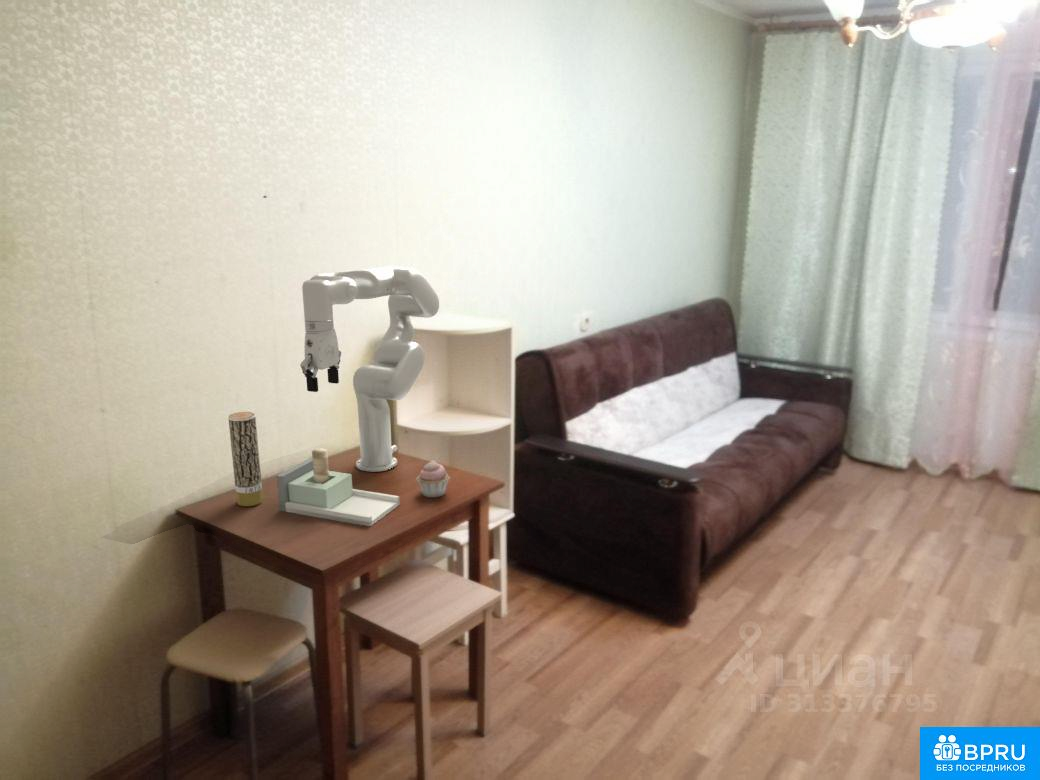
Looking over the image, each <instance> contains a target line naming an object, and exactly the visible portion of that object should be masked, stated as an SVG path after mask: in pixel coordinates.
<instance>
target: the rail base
mask: <svg viewBox="0 0 1040 780" xmlns="http://www.w3.org/2000/svg"><path fill="white" fill-rule="evenodd" d="M311 470H313V459H312V457H309V458H307V459H305V460H303V461H301V462H300V463H297V464H296V465H294V466H292V467H290V468H288V469H286V470H284V471H282V472H281V473H279V474H277V475H276V480H277V481H276V483H277V484H276V485H277V494H278V505H279V506H278V507H279V511H281V512H285V513H291V514H292V513H293V514H295V515H301V516H302V515H303V516H308V517H312V518H313V517H314V518H319V519H325V520H331V521H336V522H342V523H346V524H347V523H348V524H353V525H358V524H359V525H358V526H363V525H365V526H364V527H369V526H370V527H372V526H373V525H374V523H375V524H376V523H377V522H378V520H379V521H380V520H381V519H383V518H384V517H385V516H387V515H388V514H389V513H391V512H392V511H393V510H395V509H396V508H397V507H399V506H400V495H399V496H398V495H393V494H388V493H381V492H375V491H367V490H362V489H356V488H352V490H353V495H351V496H350V497H348V498H347V499H345V500H344V501H342V502H341V503H339V504H338V505H336V506H334V507H333V508H331V509H328V508H322V507H316V506H310V505H304V504H299V503H293V502H289V491H288V483H290V482H292V481H293V480H295V479H297V478H299V477H301V476H302V475H304V474H306V473H308V472H310V471H311ZM398 505H399V506H398ZM386 514H387V515H386Z"/></svg>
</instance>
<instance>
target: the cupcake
mask: <svg viewBox="0 0 1040 780" xmlns="http://www.w3.org/2000/svg"><path fill="white" fill-rule="evenodd" d="M416 480H417V482H418V483H419V486H420V490H421V493H422V495H423V496H424V497H427V498H430V499H431V498H433V499H434V498H440V497H442V496H444V495H445V494H446V490H447V485H448V483H449V480H450V476H449V474H448V473H447V471H446V469H445V467H444V466H443V465H442V464H439V463H438V462H436V460H434V459H432V460H430V461H429V462H428V463H425V465H424V466H423V469H421V470H420V474H419V475H418V476H417V477H416Z"/></svg>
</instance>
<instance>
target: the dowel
mask: <svg viewBox="0 0 1040 780" xmlns="http://www.w3.org/2000/svg"><path fill="white" fill-rule="evenodd" d="M311 453H312V457H311V458H312V459H313V474H314V483H319V484H324V483H326V482H328V481H329V471H330V470H329V457H328V449H326V448H314V449H313V450H311Z"/></svg>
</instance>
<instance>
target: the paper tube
mask: <svg viewBox="0 0 1040 780" xmlns="http://www.w3.org/2000/svg"><path fill="white" fill-rule="evenodd" d="M227 416H228V426H229V427H228V428H229V436H230V437H229V439H230V446H231V447H230V448H231V456H232V457H231V458H232V467H233V469H232V470H233V479H234V485H235V486H234V487H235V496H236V504H238V505H239V506H241V507H254V506H257V505H260V504H261V503H262V502H263V500H264V496H263V484H262V474H261V464H260V463H261V462H260V452H259V450H260V449H259V440H258V439H259V438H258V430H257V417H256V413H255V412H253V411H240V412H235V413H234V412H233V413H231V414H228V415H227Z"/></svg>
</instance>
